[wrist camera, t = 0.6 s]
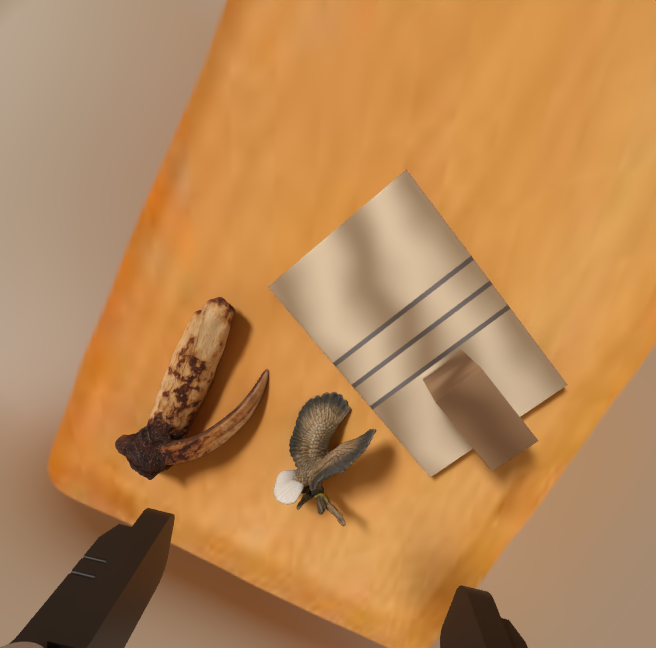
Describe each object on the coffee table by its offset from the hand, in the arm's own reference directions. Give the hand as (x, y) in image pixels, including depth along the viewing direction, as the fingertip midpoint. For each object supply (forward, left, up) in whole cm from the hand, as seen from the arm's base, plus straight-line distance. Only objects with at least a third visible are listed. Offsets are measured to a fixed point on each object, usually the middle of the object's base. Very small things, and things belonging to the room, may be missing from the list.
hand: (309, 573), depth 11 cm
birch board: (-6, +4, -24) cm, 25 cm away
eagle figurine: (+6, +7, -24) cm, 25 cm away
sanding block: (-6, +10, -22) cm, 25 cm away
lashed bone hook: (+12, -4, -24) cm, 27 cm away
